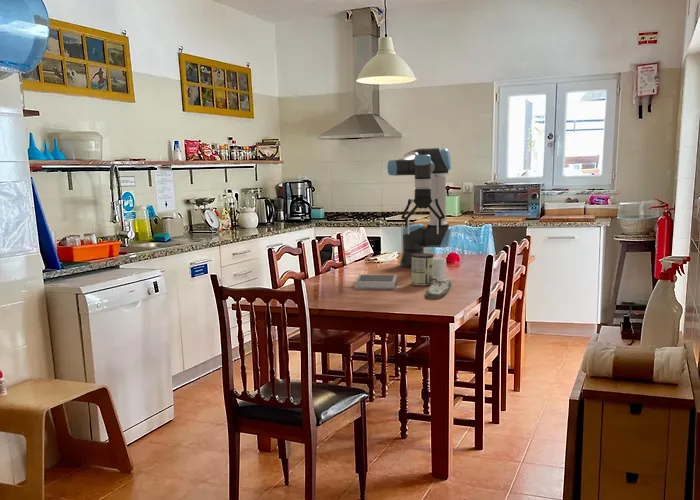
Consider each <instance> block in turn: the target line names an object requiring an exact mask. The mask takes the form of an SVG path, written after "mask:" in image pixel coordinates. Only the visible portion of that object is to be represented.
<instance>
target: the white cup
mask: <svg viewBox="0 0 700 500" xmlns="http://www.w3.org/2000/svg"><path fill="white" fill-rule="evenodd" d="M446 262H447V261H446V258H445V257H436V256H434V257H433V277H436V276H438V277H439V278H446V276H445V275H446Z"/></svg>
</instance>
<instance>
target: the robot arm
mask: <svg viewBox="0 0 700 500" xmlns="http://www.w3.org/2000/svg"><path fill="white" fill-rule="evenodd" d="M386 167H387V173H388V176H394V177H396V176H398V177H399V176H414V188H415V189H414V199H412V198H409V199H408V200H407V204H406V207H405V209H404V211H403V213H402V215H401V217H400V218H401V219H402V220H404V227H403V228H402V255H401V257H400V260H399V261H400V262H399V266H400V267H402V268H407V269H408V268H410V269H412V254H414V253H425V248H439V249H441V248H447V247H449V246H450V242H451V237H452V226H450V224H449V222H448V221H447V214H446V213H447V211H446V210H447V207H446V206H447V201H446V199H447V198H446V197H447V194H446V192H447V191H446V189H447V188H446V184H447V183H446V177H447V176H448V174H449V171H450V170H452V159H451V153H450V151H449V149H448V148H446V147H445V148H444V147H435V148H434V147H433V148H418V149H417V148H416V149H413V150H410V151H408V152H407V153H406V152H405V154H404V155H403V156H402V157H401V158H399V159H389V160H388V161H387V165H386ZM413 203H414V204H415V206H414V207H413V208H412V209H411V211H410V212H409V213H408V214H407V212H408V210H409V208H410V205H411V204H413ZM428 208H429V220H428V221H427V225H426V226H425V225H424V223H416V224H415V223H414V224H410V219H409V218H410V217H411V216H412V215H413V214H414V212H416V210H417V209H428ZM406 214H407V216H406Z"/></svg>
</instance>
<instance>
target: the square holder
mask: <svg viewBox="0 0 700 500" xmlns="http://www.w3.org/2000/svg"><path fill="white" fill-rule="evenodd" d="M397 277H398V275H397V274H358V276H357V278H356V279H355V281H354V290H381V291H382V290H387V291H388V290H389V291H390V290H392V291H394V290H395V289H396V287H397V282H398V278H397Z"/></svg>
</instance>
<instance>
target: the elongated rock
mask: <svg viewBox="0 0 700 500" xmlns="http://www.w3.org/2000/svg"><path fill="white" fill-rule="evenodd" d="M430 281H431V282H430V285H428V287H427V289H426V290H425V297H427V298H428V299H430V300H439V299H441V298H442V297H444V296H445V295H446V294H447V293H448V292H449V290H450V288H451V287H452V281H451V279H449V278H448V277H445V278H439V277H438V276H436V277H431V278H430Z"/></svg>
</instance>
